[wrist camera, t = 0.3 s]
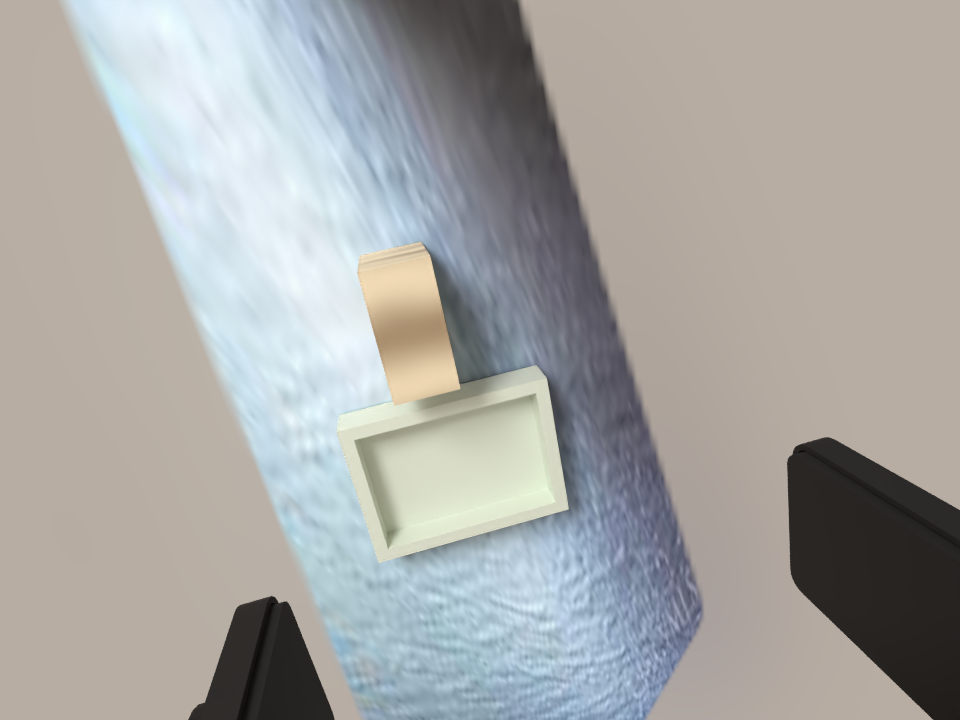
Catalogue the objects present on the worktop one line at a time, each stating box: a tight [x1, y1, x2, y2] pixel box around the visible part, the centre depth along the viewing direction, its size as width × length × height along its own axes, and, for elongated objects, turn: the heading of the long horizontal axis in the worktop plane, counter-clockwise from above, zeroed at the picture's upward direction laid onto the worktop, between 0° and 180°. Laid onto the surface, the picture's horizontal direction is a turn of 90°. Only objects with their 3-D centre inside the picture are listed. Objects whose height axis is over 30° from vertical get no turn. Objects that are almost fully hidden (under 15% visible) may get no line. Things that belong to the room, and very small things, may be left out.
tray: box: [337, 365, 569, 563], centre depth 46 cm, size 12×16×3 cm
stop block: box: [357, 242, 461, 406], centre depth 39 cm, size 9×4×7 cm, turn 11°
